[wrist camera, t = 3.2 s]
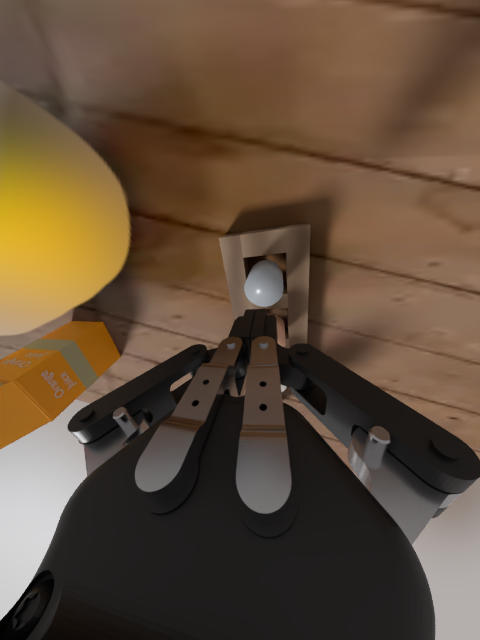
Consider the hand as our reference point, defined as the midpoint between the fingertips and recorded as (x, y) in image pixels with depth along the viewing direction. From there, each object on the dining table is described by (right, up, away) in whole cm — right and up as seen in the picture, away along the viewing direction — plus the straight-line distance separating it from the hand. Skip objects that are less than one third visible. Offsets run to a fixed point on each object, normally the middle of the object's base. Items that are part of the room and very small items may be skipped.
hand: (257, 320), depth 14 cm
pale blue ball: (+2, +5, +9) cm, 10 cm away
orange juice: (-31, -4, +25) cm, 40 cm away
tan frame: (+3, +1, +15) cm, 15 cm away
